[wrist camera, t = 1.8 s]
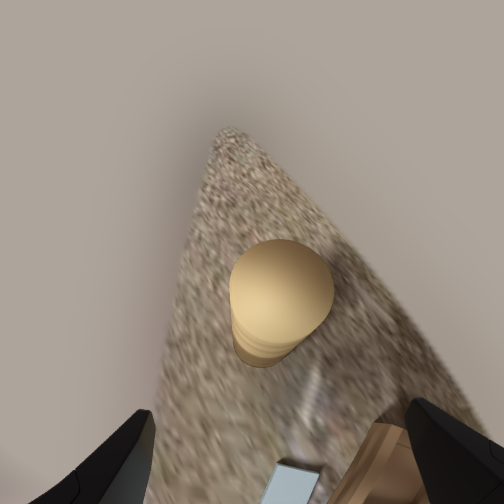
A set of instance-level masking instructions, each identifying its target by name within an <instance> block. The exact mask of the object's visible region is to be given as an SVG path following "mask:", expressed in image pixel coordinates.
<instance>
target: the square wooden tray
mask: <svg viewBox="0 0 504 504" xmlns="http://www.w3.org/2000/svg"><path fill="white" fill-rule="evenodd" d="M327 504H430V503H429V500H428V496H427V493H426V490H425V487H424V484H423V481H422V478H421V475H420V472H419V469H418V467H417V464H416V461H415V458H414V455H413V452H412V448H411V444H410V440H409V436H408V432H407V430H405V429H403V428H400V427H398V426H395V425H393V424H384V423H374V422H373V424H372V426H371V428H370V430H369V432H368V434H367V436H366V438H365V440H364V442H363V444H362V446H361V448H360V449H359V451H358V453H357V455H356V457H355V458H354V460H353V462H352V464H351V465H350V467H349V469H348V471H347V472H346V474H345V476H344V477H343V479H342V481H341V482H340V484H339V485H338V487H337V489H336V490H335V492H334V493H333V495H332V496H331V498H330V499H329V501H328V502H327Z"/></svg>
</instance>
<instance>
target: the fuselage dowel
mask: <svg viewBox="0 0 504 504" xmlns="http://www.w3.org/2000/svg"><path fill="white" fill-rule="evenodd" d="M333 299H334V283H333V278H332V275H331V272H330V270H329V268H328V266H327V265H326V263H325V262H324V261H323V259H322V258H321V257H320V256H319V255H318V254H317V253H316V252H314V251H313V250H312V249H310V248H309V247H307V246H305V245H303V244H301V243H298V242H295V241H291V240H283V239H275V240H268V241H265V242H261V243H259V244H256V245H255V246H253V247H251V248H250V249H248V250H247V251H246V252H245V253H244V254H243V255H242V256H241V257H240V258H239V259H238V261H237V262H236V264H235V266H234V268H233V271H232V274H231V278H230V302H231V318H232V333H233V345H234V349H235V352H236V354H237V355H238V357H239V358H240V359H241V360H242V361H243V362H245V363H246V364H248V365H250V366H253V367H257V368H266V367H270V366H273V365H275V364H276V363H278V362H279V361H280V360H281V359H283V358H284V357H285V356H286V355H287V354H288V353H289V352H290V351H292V350H293V349H294V348H295V347H296V346H297V345H298V344H299V343H300V342H302V341H303V340H304V339H305V338H306V337H307V336H308V335H309V334H310V333H311V332H312V331H313V330H314V329H315V328H317V327H318V326H319V325H320V324H321V323H322V322H323V320H324V319H325V318H326V317H327V315H328V313H329V311H330V309H331V307H332V303H333Z"/></svg>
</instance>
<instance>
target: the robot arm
mask: <svg viewBox="0 0 504 504" xmlns="http://www.w3.org/2000/svg"><path fill="white" fill-rule="evenodd" d="M404 420H405V424H406V428H407V432H408V436H409V440H410V444H411V448H412V452H413V455H414V458H415V461H416V464H417V467H418V469H419V472H420V475H421V478H422V481H423V484H424V487H425V490H426V493H427V496H428V500H429V503H430V504H504V448H503V447H501V446H500V445H498V444H496V443H495V442H493V441H491V440H489V439H488V438H486V437H485V436H483V435H481V434H480V433H478V432H477V431H475V430H473V429H472V428H470V427H468V426H467V425H465V424H464V423H462V422H460V421H459V420H457V419H456V418H454V417H452V416H451V415H449V414H448V413H446V412H445V411H443V410H441V409H440V408H438V407H437V406H435V405H434V404H432V403H430V402H429V401H427V400H426V399H424V398H416V399H413V400H412V401H411V402H410V404H409V406H408V408H407V410H406V412H405V415H404ZM155 431H156V427H155V423H154V419H153V416H152V412H151V411H150V410H144V409H139V410H137V411H136V412H135V413H134V414H133V415H132V416H131V417H130V418H129V419H128V420H127V421H126V422H125V423H124V424H122V425H121V427H119V428H118V429H117V430H116V431H115V432H114V433H113V434H112V435H111V436H110V437H109V438H108V439H107V440H106V441H105V442H104V443H103V444H101V445H100V446H99V447H98V448H97V449H96V450H95V451H94V452H93V453H92V454H91V455H89V456H88V457H87V458H86V459H85V460H84V461H83V462H82V463H81V464H80V465H79V466H78V467H77V468H76V469H75V470H73V471H72V472H71V473H70V474H69V475H67V476H66V477H65V478H64V479H63V480H62V481H60V482H59V483H58V484H57V485H55V486H54V487H52V488H51V489H50V490H48V491H47V492H45V493H44V494H42V495H41V496H39V497H38V498H36V499H35V500H33V501H32V502H30V503H28V504H143V500H144V496H145V492H146V488H147V484H148V479H149V475H150V471H151V465H152V456H153V448H154V439H155Z"/></svg>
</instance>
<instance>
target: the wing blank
mask: <svg viewBox="0 0 504 504" xmlns="http://www.w3.org/2000/svg"><path fill="white" fill-rule="evenodd" d="M318 476H319V474H318V473H317V472H315V471H310V470H305V469H301V468H296V467H292V466H288V465H284V464H280V463H276V465H275V468H274V470H273V472H272V475H271V477H270V479H269V482H268V484H267V486H266V489H265V491H264V493H263V495H262V497H261V500H260V502H259V504H307V502H308V500H309V497H310V495H311V493H312V491H313V488H314V486H315V484H316V481H317V479H318Z"/></svg>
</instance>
